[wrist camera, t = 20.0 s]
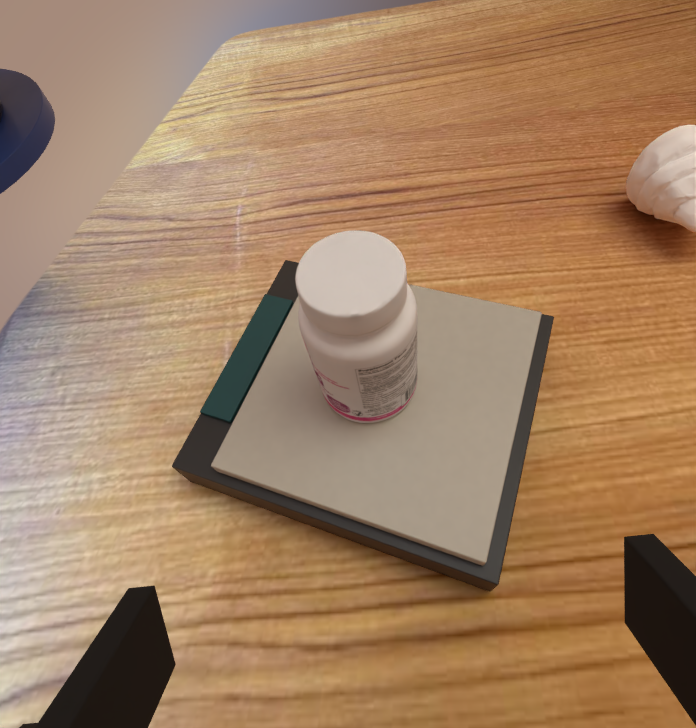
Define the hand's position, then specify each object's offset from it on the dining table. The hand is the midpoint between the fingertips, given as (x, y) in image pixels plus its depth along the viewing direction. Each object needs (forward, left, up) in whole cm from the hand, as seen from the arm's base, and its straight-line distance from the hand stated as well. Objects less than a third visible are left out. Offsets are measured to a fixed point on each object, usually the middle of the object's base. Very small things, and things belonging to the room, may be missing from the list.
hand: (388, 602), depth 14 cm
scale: (-5, +10, -10) cm, 14 cm away
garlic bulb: (+9, +28, -10) cm, 31 cm away
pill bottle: (-4, +9, -7) cm, 12 cm away
